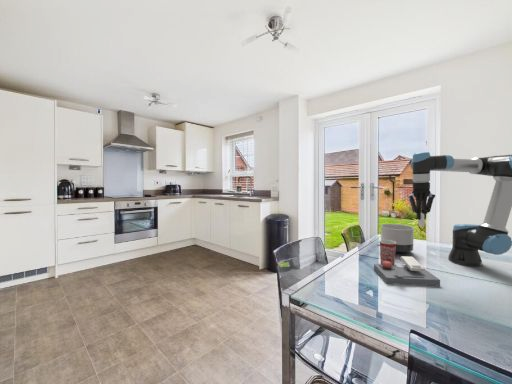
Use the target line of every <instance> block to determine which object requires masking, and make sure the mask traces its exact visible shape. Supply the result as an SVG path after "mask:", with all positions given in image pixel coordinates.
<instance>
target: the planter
mask: <svg viewBox="0 0 512 384" xmlns="http://www.w3.org/2000/svg"><path fill="white" fill-rule="evenodd" d="M380 227H381V228H380V240H391V241H395V242H396V243H397V244H396V252H395V254H406V253H407V252H412V251H414V236H415V234H414V233H415V232H414V231H415V229H414V227H413V226H411V225H408V224H407V225H406V224H402V223H401V224H400V223H399V224H398V223H384V224H383V223H382V224H381V226H380Z"/></svg>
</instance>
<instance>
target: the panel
mask: <svg viewBox="0 0 512 384" xmlns="http://www.w3.org/2000/svg"><path fill="white" fill-rule="evenodd" d="M396 265H397V264H394V265H392V268H384V267H383V266H382V263H374V264H373V270H374V271H375V272H376V273H377V274H378V276H380V278H381V279H382V281H384V282H385V284H389V285H390V284H391V285H392V284H393V285H410V286H411V285H414V286H431V287H432V286H433V287H441V279H440V278H438V277H436V275H434V274H433V273H431V272H430V271H428V270H427V269H425V268H424V271H411V270H410V269H409V268H408V267H407V266H406V264H401V265H402V266H403V267H404V273H403V277H398V276H397V275H396Z"/></svg>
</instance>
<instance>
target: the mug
mask: <svg viewBox="0 0 512 384" xmlns="http://www.w3.org/2000/svg"><path fill="white" fill-rule="evenodd" d="M396 244H397V243H396V242H395V241H391V240H381V239H380V240H379V253H380V254H379V255H380V264H382V262H383V261H389V262H391V263H392V265H395V259H396V253H395V252H396Z"/></svg>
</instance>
